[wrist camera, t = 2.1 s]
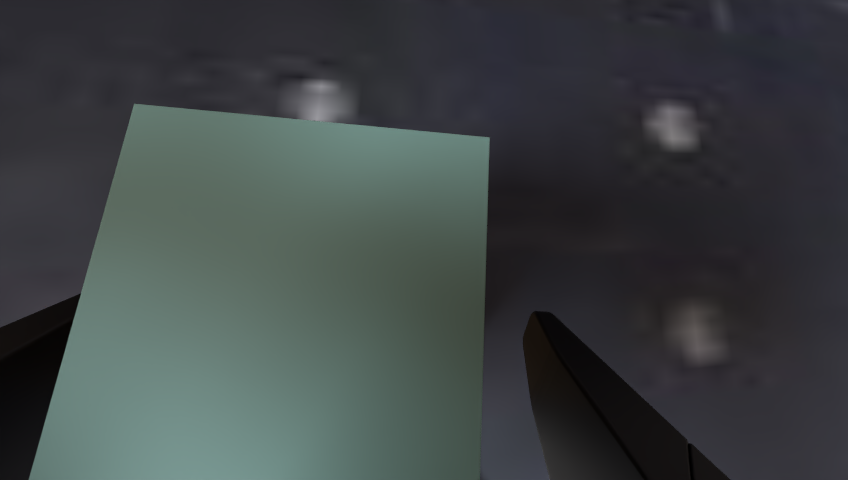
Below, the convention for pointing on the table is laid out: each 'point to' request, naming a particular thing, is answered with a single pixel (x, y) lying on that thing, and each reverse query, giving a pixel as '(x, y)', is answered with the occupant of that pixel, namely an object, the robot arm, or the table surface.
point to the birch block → (278, 306)
